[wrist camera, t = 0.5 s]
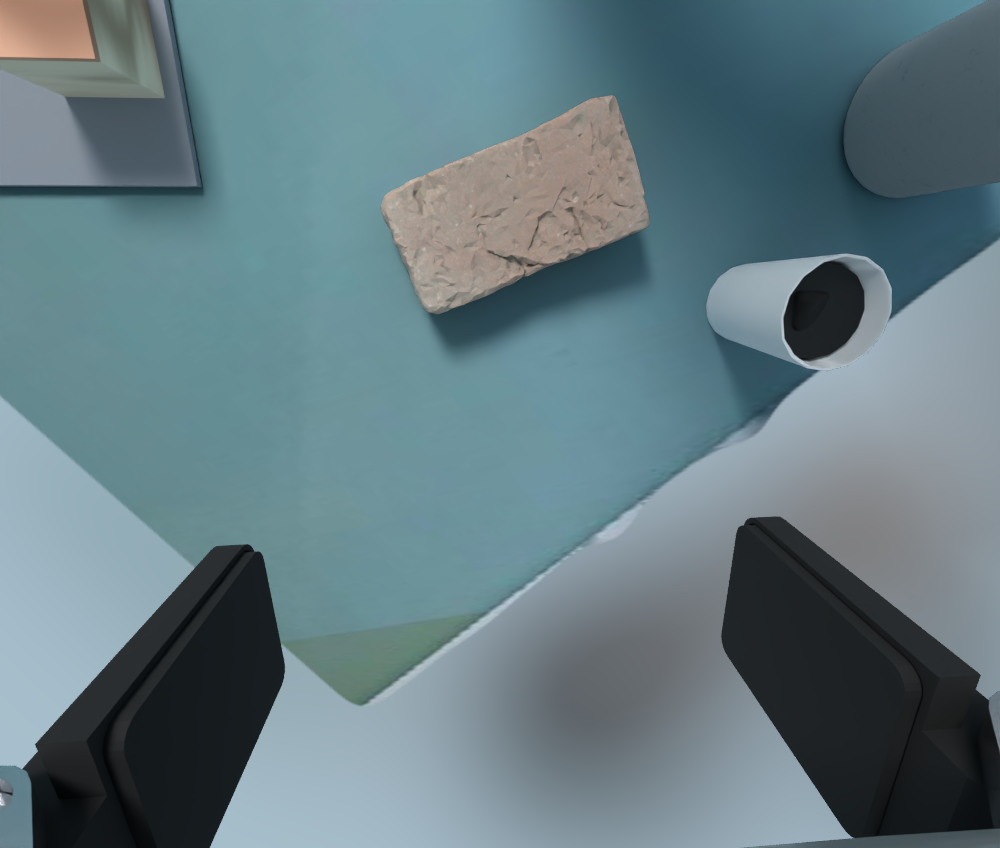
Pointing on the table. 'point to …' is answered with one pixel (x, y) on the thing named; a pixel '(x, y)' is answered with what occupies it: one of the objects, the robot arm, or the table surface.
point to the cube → (81, 47)
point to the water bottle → (931, 111)
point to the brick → (518, 206)
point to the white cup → (804, 308)
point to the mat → (100, 130)
